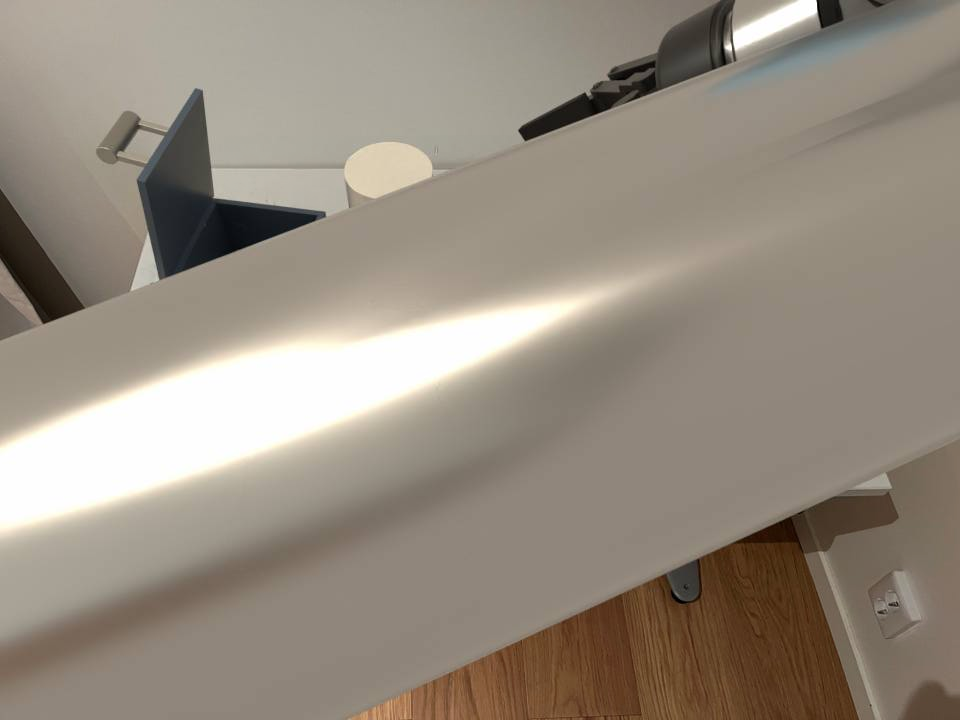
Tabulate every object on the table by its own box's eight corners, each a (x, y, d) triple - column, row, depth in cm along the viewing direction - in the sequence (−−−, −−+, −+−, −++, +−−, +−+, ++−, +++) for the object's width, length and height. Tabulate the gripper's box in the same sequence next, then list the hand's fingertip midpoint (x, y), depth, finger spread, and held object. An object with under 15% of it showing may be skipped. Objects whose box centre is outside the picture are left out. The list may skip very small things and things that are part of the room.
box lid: (202, 89, 71) (135, 70, 70) (145, 182, 62) (68, 161, 61) (214, 195, 83) (157, 180, 82) (167, 284, 74) (103, 268, 73)
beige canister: (382, 298, 59) (372, 211, 51) (343, 249, 62) (327, 160, 54) (449, 266, 62) (450, 178, 53) (408, 220, 65) (403, 131, 57)
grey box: (336, 266, 90) (325, 211, 82) (305, 355, 82) (290, 302, 74) (232, 254, 91) (212, 197, 83) (192, 340, 83) (164, 286, 75)
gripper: (712, 283, 29) (423, 343, 45) (847, 25, 42) (585, 144, 58) (623, 133, 26) (349, 255, 42) (798, -94, 39) (536, 66, 55)
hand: (485, 191), depth 50 cm, fingers open, 13 cm apart
